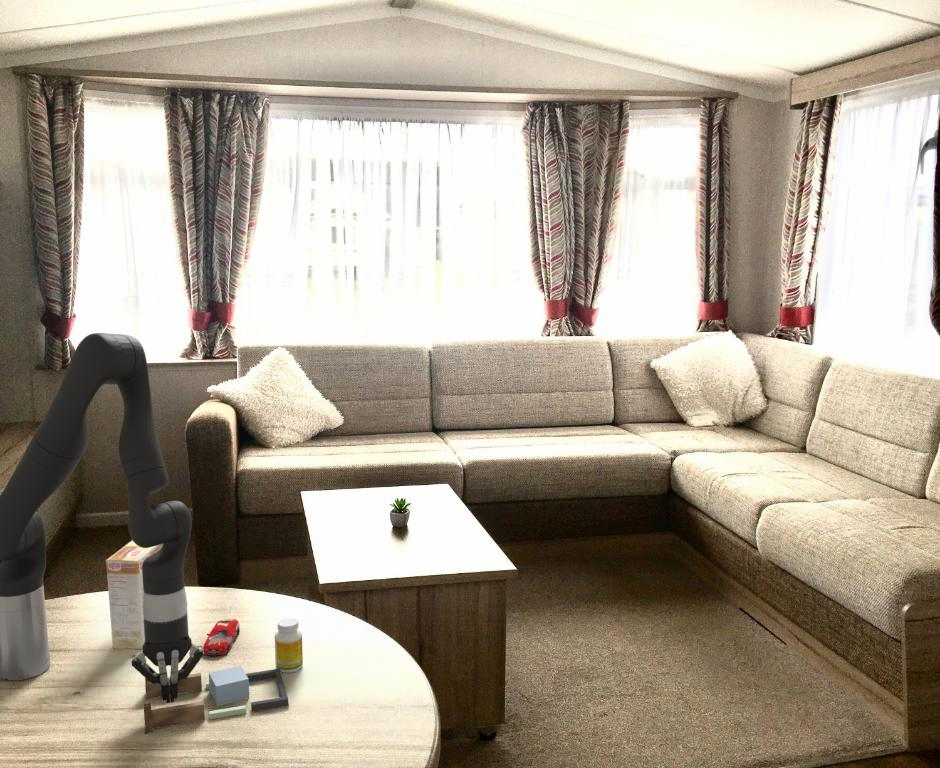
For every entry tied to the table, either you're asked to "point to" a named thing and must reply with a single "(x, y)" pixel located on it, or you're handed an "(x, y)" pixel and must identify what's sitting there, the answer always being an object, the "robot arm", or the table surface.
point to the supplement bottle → (288, 646)
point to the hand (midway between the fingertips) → (170, 700)
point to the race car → (221, 637)
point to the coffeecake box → (127, 594)
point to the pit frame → (271, 702)
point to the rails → (226, 710)
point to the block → (229, 685)
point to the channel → (173, 713)
